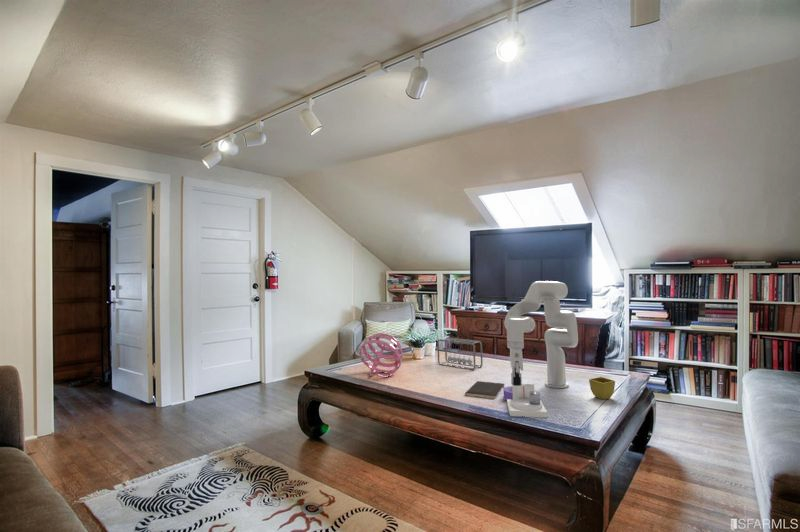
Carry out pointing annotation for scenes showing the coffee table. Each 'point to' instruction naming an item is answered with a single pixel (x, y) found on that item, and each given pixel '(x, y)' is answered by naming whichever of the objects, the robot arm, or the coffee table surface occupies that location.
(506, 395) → the tape roll
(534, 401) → the cylinder
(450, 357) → the newton's cradle
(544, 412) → the scale
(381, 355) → the pink openwork sphere sculpture
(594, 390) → the flower pot
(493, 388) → the hardcover book
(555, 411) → the coffee table surface
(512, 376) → the cylinder
